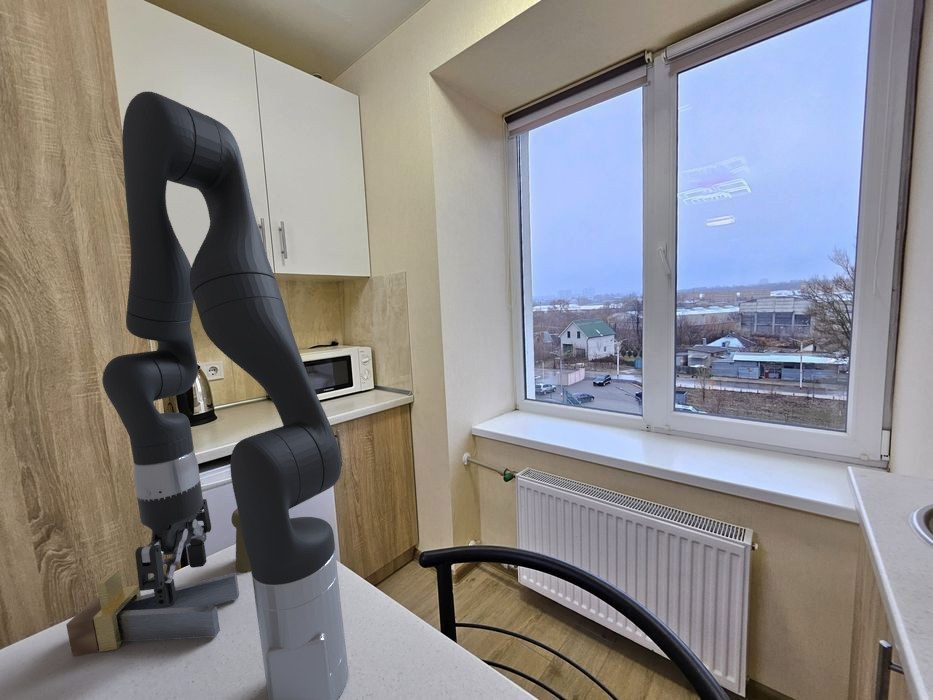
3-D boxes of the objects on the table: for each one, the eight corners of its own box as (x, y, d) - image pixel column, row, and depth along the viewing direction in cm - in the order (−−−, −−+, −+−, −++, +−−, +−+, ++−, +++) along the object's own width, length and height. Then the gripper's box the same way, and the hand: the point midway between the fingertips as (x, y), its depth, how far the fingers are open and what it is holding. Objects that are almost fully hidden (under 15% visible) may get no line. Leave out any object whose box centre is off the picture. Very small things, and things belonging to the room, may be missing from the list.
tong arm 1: (107, 641, 57) (102, 616, 56) (113, 636, 58) (108, 611, 57) (215, 636, 56) (211, 611, 56) (220, 630, 57) (216, 605, 57)
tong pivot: (72, 656, 55) (66, 624, 54) (99, 627, 60) (93, 598, 59) (98, 651, 55) (92, 620, 55) (122, 623, 60) (117, 594, 60)
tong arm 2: (118, 630, 58) (113, 606, 58) (121, 625, 59) (117, 601, 59) (238, 598, 64) (234, 575, 63) (239, 594, 65) (236, 571, 64)
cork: (227, 569, 72) (219, 513, 71) (253, 549, 78) (247, 497, 76) (253, 574, 70) (245, 517, 69) (278, 553, 76) (271, 500, 75)
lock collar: (99, 652, 55) (88, 591, 54) (128, 618, 61) (118, 563, 60) (117, 649, 55) (106, 588, 54) (144, 616, 61) (134, 561, 60)
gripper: (168, 506, 51) (185, 617, 53) (219, 462, 65) (230, 551, 67) (104, 513, 50) (123, 626, 52) (170, 467, 64) (183, 557, 66)
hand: (184, 584), depth 59 cm, fingers open, 8 cm apart
